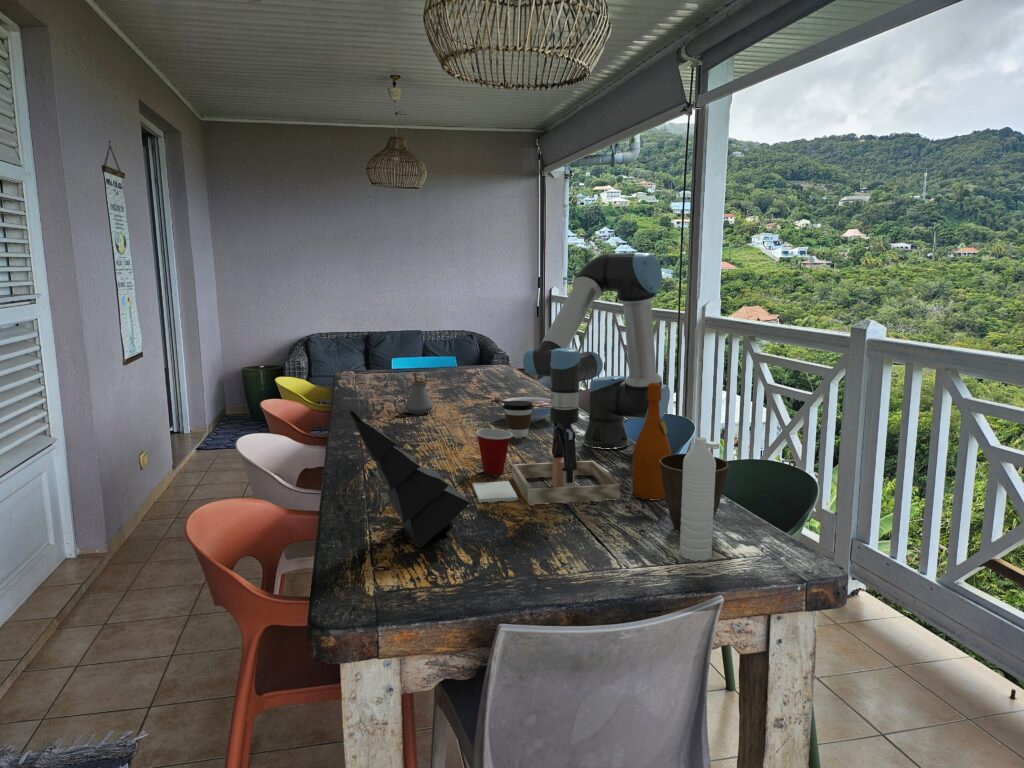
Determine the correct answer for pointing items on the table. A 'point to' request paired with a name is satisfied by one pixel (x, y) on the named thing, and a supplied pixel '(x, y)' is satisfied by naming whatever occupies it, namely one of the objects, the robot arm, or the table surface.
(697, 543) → the water bottle
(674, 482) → the plant pot
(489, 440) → the plastic cup
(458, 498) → the decorative tree
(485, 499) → the pad
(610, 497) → the frame
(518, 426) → the coffee cup
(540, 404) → the ramen bowl
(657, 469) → the wine bottle
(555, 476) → the block
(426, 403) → the coffee pot
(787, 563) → the table surface
